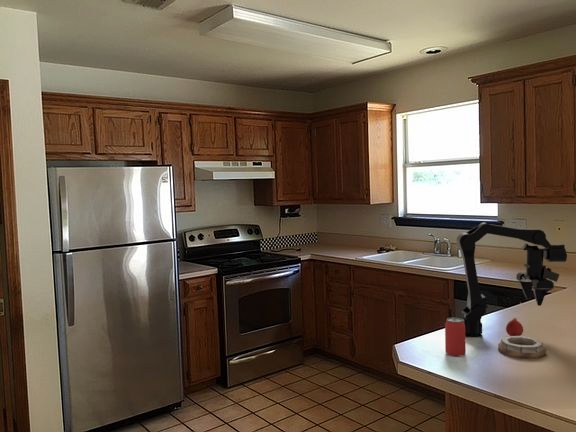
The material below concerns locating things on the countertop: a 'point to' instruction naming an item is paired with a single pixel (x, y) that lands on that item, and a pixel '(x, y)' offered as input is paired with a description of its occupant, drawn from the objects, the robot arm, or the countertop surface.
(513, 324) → the onion
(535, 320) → the countertop surface
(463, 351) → the beer can
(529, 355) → the ring board
